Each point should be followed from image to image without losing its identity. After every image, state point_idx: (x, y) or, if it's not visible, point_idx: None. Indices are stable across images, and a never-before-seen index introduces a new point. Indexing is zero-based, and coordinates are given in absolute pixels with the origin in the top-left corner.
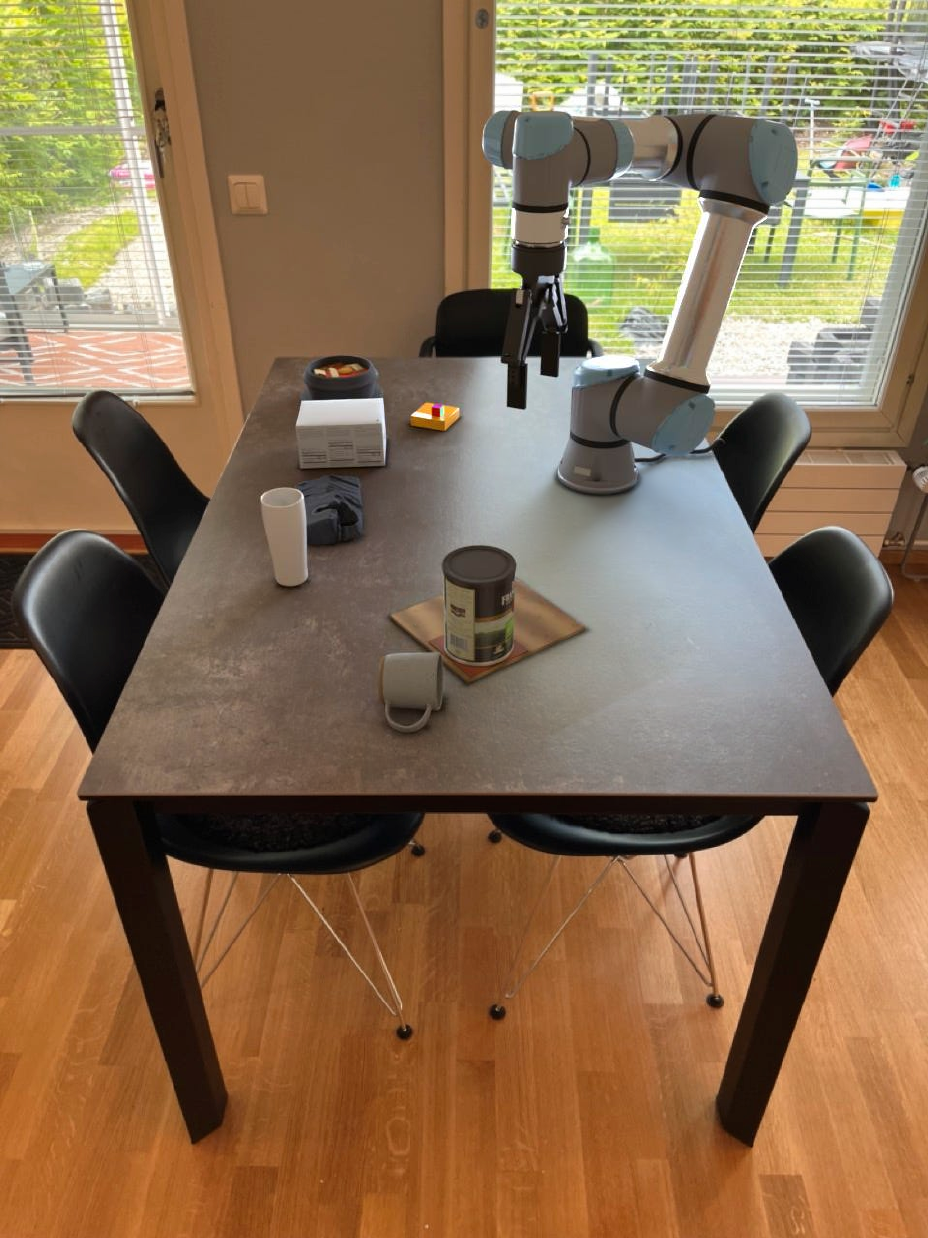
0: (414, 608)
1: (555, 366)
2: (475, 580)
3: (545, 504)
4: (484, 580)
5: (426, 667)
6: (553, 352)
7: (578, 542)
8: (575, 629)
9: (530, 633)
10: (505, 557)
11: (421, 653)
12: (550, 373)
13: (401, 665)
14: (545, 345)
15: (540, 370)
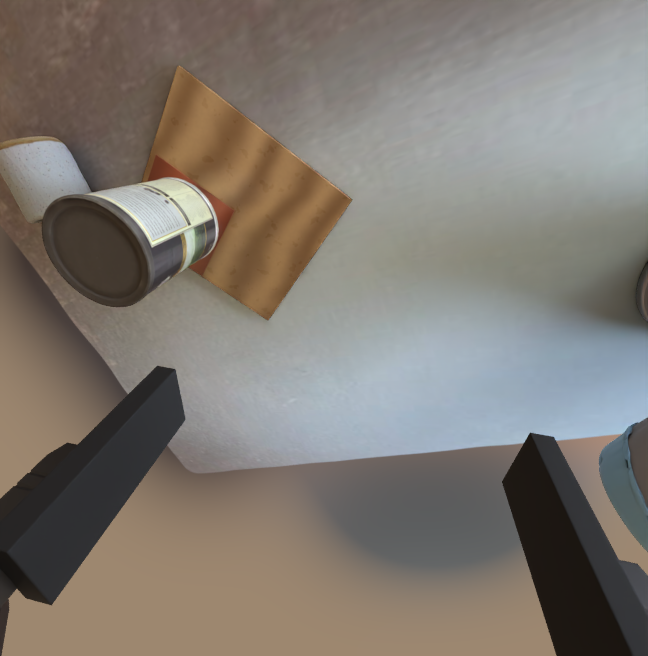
0: (209, 98)
1: (519, 521)
2: (60, 263)
3: (601, 205)
4: (67, 275)
5: (22, 210)
6: (549, 590)
7: (463, 281)
8: (259, 312)
9: (231, 269)
10: (136, 287)
11: (36, 194)
12: (515, 476)
13: (5, 178)
14: (591, 610)
15: (538, 449)
